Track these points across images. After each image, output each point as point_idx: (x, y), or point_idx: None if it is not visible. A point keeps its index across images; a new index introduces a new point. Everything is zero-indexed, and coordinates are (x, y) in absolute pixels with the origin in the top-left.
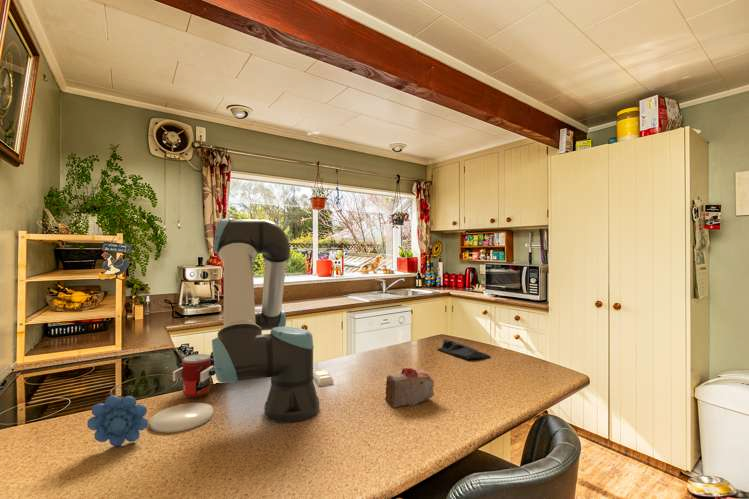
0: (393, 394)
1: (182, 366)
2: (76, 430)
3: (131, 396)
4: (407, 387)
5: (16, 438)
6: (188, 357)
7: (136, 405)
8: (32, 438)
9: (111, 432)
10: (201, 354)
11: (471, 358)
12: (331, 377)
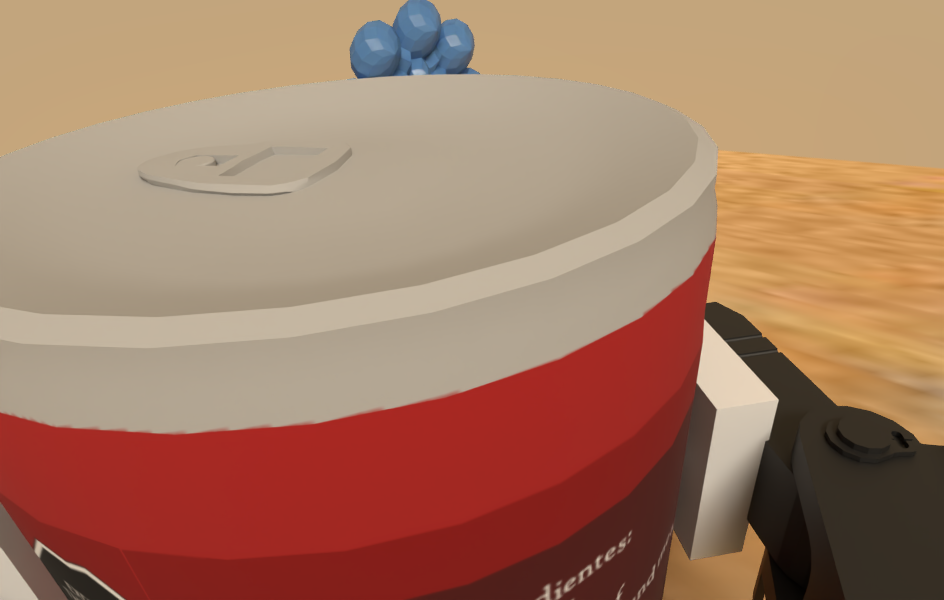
0: None
1: (938, 463)
2: (720, 215)
3: (364, 28)
4: None
5: (845, 168)
6: (620, 142)
7: (354, 78)
8: (791, 176)
9: None
10: (371, 292)
11: None
12: None
